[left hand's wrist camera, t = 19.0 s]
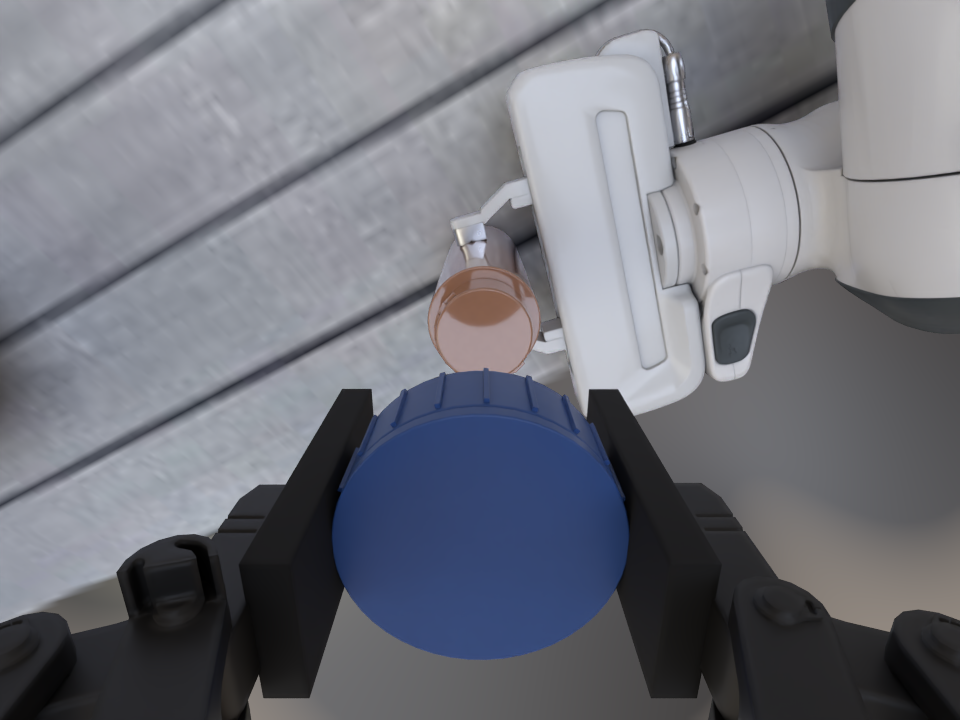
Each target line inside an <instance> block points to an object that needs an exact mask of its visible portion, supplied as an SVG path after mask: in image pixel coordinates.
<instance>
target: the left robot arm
mask: <svg viewBox="0 0 960 720" xmlns="http://www.w3.org/2000/svg"><path fill="white" fill-rule="evenodd" d="M372 417H373V403H372V390H371V389H342V390H341V392H340V394H339V395H338V397H337V399H336V401H335V402H334V404H333V406H332V407H331V409H330V411H329V412H328V414H327V416H326V417H325V419H324V421H323V422H322V424H321V426H320V428H319V429H318V431H317V433H316V434H315V436H314V438H313V439H312V441H311V443H310V444H309V446H308V448H307V450H306V451H305V453H304V455H303V456H302V458H301V460H300V461H299V463H298V465H297V466H296V468H295V470H294V471H293V473H292V475H291V477H290V478H289V480H288V482H287V483H286V485H258V486H257V487H256V488H254V489H253V490H251V491H250V492H249V493H247V494H246V495H245V496H243V497H242V498H240V499H239V501H238V502H237V504H236V505H235V506H234V508H233V509H232V511H231V512H230V513H229V515H228V519H225V521H224V522H223V523H222V525H221V526H220V528H219V529H218V533H215V535H214V536H213V538H212V539H210V538H209V537H205V536H200V535H196V534H190V535H177V536H173V537H169V538H165V539H162V540H158V541H156V542H154V543H152V544H150V545H148V546H146V547H143V548H141V549H140V550H138V551H137V552H136V553H134V554H133V555H132V556H130V557H129V558H128V559H126V560H125V562H124V563H123V564H122V566H121V567H120V568H119V570H118V571H117V572H116V573H117V577H118V580H119V583H120V587H121V591H122V594H123V597H124V601H125V605H126V608H127V612H128V615H129V620H127V621H123V622H120V623H117V624H113V625H109V626H104V627H101V628H96V629H92V630H88V631H83V632H79V633H75V634H71V632H70V630H69V627H68V624H67V621H66V620H65V619H64V618H62V617H61V616H60V615H59V614H55V613H47V612H39V613H33V614H27V615H22V616H19V617H16V618H14V619H11V620H8V621H5V622H3V623H0V720H251V716H250V708H249V703H248V698H249V696H250V694H251V691H252V689H253V687H254V684H255V682H256V680H257V677H258V675H259V677H260V682H261V687H262V693H263V698H310V694H311V691H312V688H313V685H314V682H315V678H316V675H317V672H318V669H319V666H320V663H321V659H322V656H323V653H324V650H325V647H326V643H327V640H328V637H329V634H330V631H331V628H332V625H333V621H334V618H335V615H336V612H337V609H338V606H339V602H340V599H341V596H342V593H343V590H344V585H343V583H342V581H341V578H340V576H339V573H338V571H337V568H336V564H335V560H334V555H333V546H332V522H333V516H334V512H335V508H336V504H337V502H338V499H339V497H340V494H341V492H339V491H338V488H339V485H340V483H341V481H342V479H343V476H344V474H345V472H346V469H347V467H348V465H349V462H350V460H351V458H352V455H353V453H354V451H355V448H356V447H357V448H360V445H361V443H362V441H363V438H364V436H365V434H366V431H367V429H368V426H369V424H370V422H371V419H372ZM587 422H588V423H589V424H591V423H593V424H594V425H595V428H596V430H597V432H598V435H599V437H600V439H601V442H602V444H603V447H604V449H605V451H606V454H607V456H608V457H609V460H610V462H611V465H612V467H613V469H614V472H615V474H616V476H617V479H618V481H619V483H620V486H621V488H622V491H623V493H624V495H625V501H624V505H625V508H626V511H627V517H628V522H629V543H628V552H627V560H626V565H625V568H624V571H623V575H622V577H621V579H620V581H619V583H618V585H617V587H616V589H617V592H618V595H619V598H620V601H621V604H622V608H623V611H624V614H625V617H626V620H627V624H628V627H629V630H630V633H631V636H632V639H633V643H634V646H635V649H636V652H637V655H638V658H639V662H640V665H641V668H642V671H643V674H644V677H645V681H646V684H647V687H648V690H649V693H650V696H651V698H697V695H698V689H699V684H700V679H701V673H702V674H703V676H704V678H705V681H706V683H707V685H708V688H709V690H710V692H711V695H712V697H713V698H712V703H711V708H710V713H709V719H708V720H960V621H959V620H957V619H954V618H951V617H949V616H946V615H943V614H940V613H936V612H930V611H923V610H912V611H904V612H902V613H901V614H900V615H899V616H897V617H896V618H895V619H894V622H893V625H892V628H891V631H890V632H887V631H882V630H878V629H874V628H870V627H866V626H861V625H857V624H853V623H848V622H845V621H841V620H838V619H835V618H832V617H830V615H829V614H828V612H827V610H826V609H825V607H824V606H823V604H822V603H821V602H819V601H818V600H817V599H816V598H815V597H814V596H812V595H811V594H810V593H809V592H807V591H806V590H804V589H802V588H800V587H798V586H796V585H794V584H792V583H790V582H787V581H784V580H780V579H778V577H777V576H776V574H775V573H774V572H773V570H772V569H771V567H770V566H769V564H768V563H767V562H766V560H765V559H764V557H763V556H762V555H761V553H760V552H759V550H758V549H757V548H756V546H755V545H754V543H753V542H752V541H751V539H750V538H749V536H748V535H747V533H746V532H745V531H743V529H742V526H741V525H740V523H739V522H738V521H737V519H736V518H735V517H733V514H732V512H731V511H730V509H729V508H728V506H727V505H726V504H725V502H724V501H723V499H722V498H721V497H720V496H719V495H717V494H716V493H714V492H713V491H712V490H710V489H709V488H707V487H706V486H705V485H703V484H702V483H673V481H672V479H671V478H670V476H669V474H668V473H667V471H666V469H665V467H664V466H663V464H662V462H661V461H660V459H659V457H658V456H657V454H656V452H655V451H654V449H653V447H652V446H651V444H650V442H649V440H648V439H647V437H646V435H645V434H644V432H643V430H642V429H641V427H640V425H639V424H638V422H637V420H636V419H635V417H634V415H633V413H632V412H631V410H630V408H629V407H628V405H627V403H626V402H625V400H624V398H623V397H622V395H621V393H620V391H619V390H618V389H589V395H588V408H587Z"/></svg>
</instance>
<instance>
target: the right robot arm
mask: <svg viewBox="0 0 960 720" xmlns="http://www.w3.org/2000/svg"><path fill="white" fill-rule="evenodd" d="M826 6H827V12H828V19H829V25H830V31H831V38H832V39H833V41H834V42H835V47H836V63H837V79H838V96H839V100H838V101H834V102H831V103H828V104H826V105H823V106H821V107H819V108H817V109H815V110H814V111H812V112H811V113H809V114H807V115H806V116H804V117H802V118H800V119H798V120H795V121H792V122H789V123H783V124H756V125H751V126H747V127H744V128H741V129H737V130H734V131H730V132H727V133H723V134H720V135H716V136H713V137H709V138H706V139H702V140H698V141H696V140H695V139H694V132H693V126H692V119H691V112H690V107H689V105H688V104H689V103H688V100H687V95H686V89H685V82H684V79H685V66H684V61H683V58H682V55H681V53H680V52H676V53H674V50H673V47H672V45H671V43H670V42H669V40H668V39H667V38H666V37H665V36H663V35H662V34H661V33H659V32H657V31H654V30H649V29H644V30H638V31H635V32H631V33H628V34H625V35H622V36H618V37H615V38H613V39H611V40H609V41H608V42H606V43H605V44H604V45H603V46H602V47H601V48H600V49H599V50H598V52H597V53H596V55H595V56H591V57H584V58H577V59H571V60H565V61H560V62H555V63H550V64H546V65H542V66H538V67H534V68H531V69H527V70H524V71H522V72H520V73H519V74H518V75H517V76H516V77H515V79H514V80H513V81H512V83H511V85H510V87H509V89H508V91H507V94H506V103H507V107H508V112H509V116H510V120H511V124H512V129H513V133H514V137H515V141H516V145H517V150H518V154H519V158H520V162H521V167H522V171H523V175H524V177H522V178H519V179H515V180H512V181H509V182H505V183H504V184H503V185H502V186H501V187H500V188H499V189H498V190H497V191H496V192H495V193H494V194H493V195H492V196H491V197H490V198H489V199H488V200H487V201H486V202H485V203H484V205H483V206H482V207H481V208H480V210H479V211H476V212H472V213H469V214H465V215H462V216H458V217H456V218H453V219H451V220H450V223H451V227H452V230H453V234H454V237H455V240H456V243H457V246H464V245H466V244H469V243H470V241H471V240H472V241H475V242H476V241H481V240H485V239H487V233H486V229H485V225H484V224H485V223H486V222H487V221H488V220H489V219H490V218H491V217H492V216H493V215H494V214H495V213H496V212H497V211H498V210H499V209H500V208H501V207H502V206H503V205H504V204H505V203H506V202H507V201H508V200H509V202H510V205H511V207H512V208H514V209H517V208H521V207H524V206H528V205H531V209H532V213H533V217H534V222H535V226H536V230H537V234H538V239H539V243H540V247H541V251H542V256H543V260H544V264H545V268H546V272H547V277H548V281H549V285H550V289H551V294H552V298H553V302H554V306H555V311H556V315H557V318H556V319H552V320H549V321H545V322H542V323H541V325H540V326H541V330H542V332H539V336H538V338H537V341H536V343H535V345H534V347H533V349H532V350H534V351H538V352H541V353H545V354H551V353H555V352H559V351H563V350H565V353H566V357H567V361H568V366H569V370H570V374H571V378H572V382H573V387H574V391H575V395H576V398H577V401H578V404H579V406H580V409H581V411H582V413H583V414H584V415H585V416H586V417H587V408H588V395H589V389H618V390H619V391H620V393H621V395H622V397H623V398H624V400H625V402H626V403H627V405H628V407H629V408H630V410H631V412H632V413H633V415H634V416H636V415H639V414H642V413H646V412H649V411H652V410H655V409H658V408H660V407H663V406H666V405H669V404H671V403H674V402H677V401H679V400H681V399H683V398H684V397H686V396H688V395H689V394H691V393H692V392H693V391H694V390H695V389H696V388H697V387H698V386H699V385H700V383H701V381H702V379H703V377H704V373H706V374H708V375H709V376H710V377H712V378H714V379H715V380H717V381H722V382H723V381H730V380H734V379H738V378H740V377H742V376H744V375H745V374H746V373H747V371H748V369H749V367H750V365H751V361H752V357H753V352H754V347H755V343H756V338H757V334H758V330H759V326H760V322H761V318H762V314H763V311H764V307H765V304H766V301H767V298H768V295H769V292H770V289H771V286H772V285H776V284H779V283H782V282H784V281H786V280H788V279H790V278H792V277H794V276H796V275H798V274H800V273H802V272H805V271H808V270H811V269H829V270H831V271H832V272H833V273H834V274H835V275H836V278H835V280H836V281H837V282H838V283H839V284H840V285H841V286H843V287H844V288H845V289H847V290H848V291H849V292H851V293H852V294H854V295H855V296H857V297H858V298H860V299H861V300H863V301H865V302H866V303H868V304H870V305H871V306H873V307H875V308H876V309H877V310H879V311H881V312H882V313H884V314H885V315H887V316H888V317H890V318H891V319H893V320H895V321H897V322H899V323H901V324H903V325H906V326H909V327H912V328H915V329H919V330H923V331H927V332H933V333H941V334H960V0H826ZM660 45H661V46H662V48H663V49H664V51H665V53H666V56H664V57H662V56H661V49H660ZM674 145H675V146H674ZM672 146H674V148H670V149H669V147H672Z"/></svg>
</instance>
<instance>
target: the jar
mask: <svg viewBox="0 0 960 720" xmlns="http://www.w3.org/2000/svg"><path fill="white" fill-rule="evenodd" d="M485 229H486V233H487V239H485V240H481V241H476V242H475V241H472V240H471V241H470V243H469V244H466V245H464V246H457V243H456V240H454V241H453V243H452V244H451V247H450V249H449V252H448V255H447V258H446V260H445V263H444V266H443V269H442V272H441V275H440V278H439V281H438V283H437V286H436V289H435V292H434V295H433V298H432V301H431V304H430V307H429V312H428V330H429V334H430V337H431V340H432V342H433V344H434V346H435V348H436V350H437V351H438V352H439V354H440V355H441V357H442V358H443V360H444V361H445V363H446V364H447V365H448V366H449V367H450V368H452V369H453V370H454V372H456V373H457V372H466V371H483V368H489V371H496V372H503V373H510V374H513V373H514V372H515V373H516V372H517V371H518V370H519V369H520V368H521V367H522V366H523V365H524V364H525V363H524V362H523V361H524V360H525V359H526V357H527V355H528V354H529V353H530V351H531V350H532V349H533V347H534V345H535V343H536V341H537V338H538V336H539V332H540V325H541V314H540V309H539V305H538V302H537V299H536V297H535V294H534V291H533V289H532V286H531V284H530V281H529V278H528V276H527V273H526V271H525V268H524V266H523V263H522V260H521V258H520V255H519V253H518V250H517V248H516V245H515V243H514V242H513V240H512V239H511V238H510V237H509V236H508V235H507V234H506V233H505V232H503V231H502V230H500V229H498V228H495V227H492V226H485Z"/></svg>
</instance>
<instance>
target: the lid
mask: <svg viewBox="0 0 960 720" xmlns="http://www.w3.org/2000/svg"><path fill="white" fill-rule="evenodd" d="M338 491H339V492H341V494H340V497H339V499H338V502H337V504H336V508H335V512H334V516H333V522H332V546H333V555H334V560H335V564H336V568H337V571H338V573H339V576H340V578H341V581H342V583H343V585H344V587H345V588H346V590H347V592H348V593H349V595H350V597H351V598H352V600H353V601H354V602H355V603H356V605H357V606H358V607H359V608H360V610H361V611H362V612H363V613H364V614H365V615H366V616H367V617H368V618H369V619H370V620H371V621H372V622H374V623H375V624H376V625H378V626H379V627H380V628H382V629H383V630H384V631H386V632H387V633H389V634H390V635H392V636H394V637H395V638H397V639H399V640H400V641H402V642H405V643H407V644H409V645H411V646H413V647H416V648H418V649H421V650H424V651H427V652H430V653H433V654H438V655H442V656H446V657H451V658H460V659H468V660H491V659H504V658H509V657H515V656H521V655H524V654H528V653H531V652H535V651H538V650H541V649H543V648H546V647H548V646H551V645H553V644H555V643H557V642H559V641H561V640H563V639H565V638H566V637H568V636H570V635H571V634H573V633H574V632H576V631H577V630H579V629H580V628H582V627H583V626H584V625H585V624H586V623H587V622H589V621H590V620H591V619H592V618H593V617H594V616H595V615H596V614H597V613H598V612H599V611H600V610H601V609H602V607H603V606H604V605H605V604H606V603H607V601H608V600H609V598H610V597H611V595H612V594H613V592H614V591H615V589H616V587H617V585H618V583H619V581H620V579H621V577H622V575H623V571H624V568H625V565H626V560H627V552H628V543H629V522H628V517H627V511H626V508H625V505H624V501H625V495H624V493H623V491H622V488H621V486H620V483H619V481H618V479H617V476H616V474H615V472H614V469H613V467H612V465H611V462H610V460H609V457H608V456H607V454H606V451H605V449H604V447H603V444H602V442H601V439H600V437H599V435H598V432H597V430H596V428H595V425H594V424H593V423H591V424H589V423H588V422H587V420H586V419H585V418H584V416H583V415H582V414H581V413H580V412H579V411H578V410H577V409H576V408H575V407H574V406H573V405H572V404H571V403H570V401H569V398H568V396H566V395H563V397H562V396H561V395H559V394H558V393H556V392H555V391H553V390H551V389H550V388H548V387H546V386H544V385H542V384H540V383H538V382H535V381H533V380H532V377H531V376H528V375H527V376H526V378H525V377H521V376H517V375H514V374H510V373H503V372H496V371H489V368H483V371H466V372H457V373H452V374H448V375H446V374H445V372H443V373H440V376H439V377H437V378H434V379H431V380H428V381H425V382H423V383H421V384H419V385H417V386H415V387H413V388H411V389H409V390H408V391H407V390H406V389H404V390H402V391H401V394H400V396H399V397H398V398H396V399H395V400H394V401H393V402H392V403H390V404H389V405H388V406H387V407H386V408H385V409H384V410H383V411H382V412H381V413H380V415H379V416H376V415H374V416H373V417H372V419H371V422H370V424H369V426H368V429H367V431H366V434H365V436H364V438H363V441H362V443H361V445H360V448H357V447H356V448H355V451H354V453H353V455H352V458H351V460H350V462H349V465H348V467H347V469H346V472H345V474H344V476H343V479H342V481H341V483H340V485H339V488H338Z"/></svg>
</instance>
